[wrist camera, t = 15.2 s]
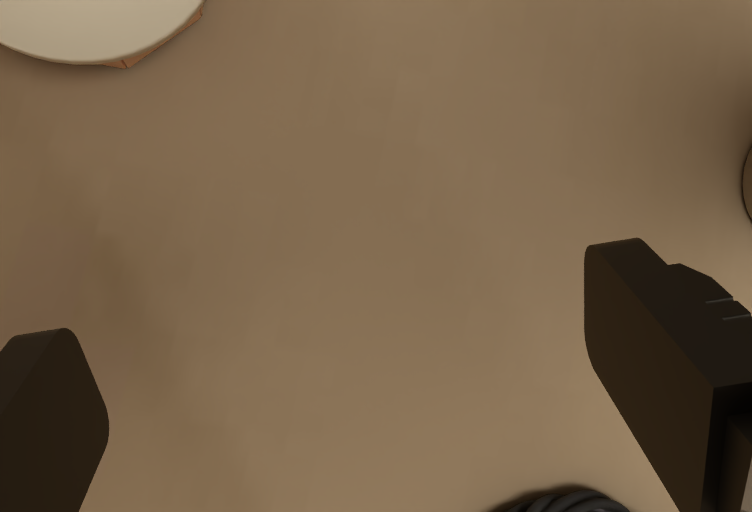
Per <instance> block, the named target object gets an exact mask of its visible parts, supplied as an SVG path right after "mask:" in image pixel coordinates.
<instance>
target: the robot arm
mask: <svg viewBox="0 0 752 512" xmlns="http://www.w3.org/2000/svg"><path fill="white" fill-rule="evenodd" d="M743 194H744V200H745V204H746V207H747V211H748V213H749V215H750V217H751V219H752V148H751V150H750V152H749V154H748V157H747V160H746V164H745V167H744V174H743ZM584 332H585V341H586V347H587V351H588V355H589V359H590V361H591V364H592V366H593V369H594V371H595V372H596V374H597V376H598V377H599V379H600V381H601V382H602V384H603V386H604V387H605V389H606V391H607V392H608V394H609V396H610V397H611V399H612V401H613V402H614V404H615V405H616V407H617V409H618V410H619V412H620V414H621V415H622V417H623V419H624V420H625V422H626V424H627V425H628V427H629V429H630V430H631V432H632V434H633V435H634V437H635V439H636V440H637V442H638V443H639V445H640V447H641V448H642V450H643V452H644V453H645V455H646V457H647V458H648V460H649V462H650V463H651V465H652V467H653V468H654V470H655V472H656V473H657V475H658V477H659V478H660V480H661V481H662V483H663V485H664V486H665V488H666V490H667V491H668V493H669V495H670V496H671V498H672V500H673V501H674V503H675V505H676V506H677V508H678V510H679V511H680V512H752V317H751V313H750V312H749V311H748V310H747V309H746V308H745V307H744V306H743V305H741V304H740V303H739V302H738V301H734V300H733V296H731V295H730V294H729V293H728V292H727V291H726V290H725V289H724V288H723V287H722V286H720V285H719V284H718V283H717V282H716V281H715V280H714V279H713V278H712V277H709V276H707V275H705V274H703V273H700V272H698V271H696V270H694V269H692V268H689V267H687V266H685V265H683V264H680V263H678V264H672V265H667V264H666V263H665V262H664V261H663V260H662V259H661V258H660V257H659V256H658V255H657V254H656V253H655V252H654V251H653V250H652V249H651V248H650V247H649V246H648V245H647V244H646V243H645V242H644V241H643V240H642V239H640V238H632V239H626V240H620V241H613V242H607V243H601V244H594V245H590V246H588V247H587V249H586V252H585V258H584ZM108 436H109V419H108V413H107V409H106V406H105V403H104V401H103V399H102V396H101V394H100V391H99V389H98V387H97V384H96V382H95V379H94V377H93V375H92V372H91V370H90V367H89V365H88V363H87V360H86V358H85V355H84V353H83V351H82V348H81V346H80V343H79V341H78V339H77V337H76V336H75V334H74V333H73V332H72V331H71V330H69V329H67V328H60V329H54V330H47V331H41V332H35V333H29V334H22V335H17V336H14V337H13V338H11V339H10V340H9V341H8V343H7V344H6V345H5V347H4V348H3V349H2V351H1V352H0V512H79V509H80V507H81V505H82V502H83V500H84V498H85V495H86V493H87V491H88V488H89V486H90V484H91V481H92V479H93V477H94V474H95V472H96V470H97V467H98V465H99V463H100V460H101V458H102V455H103V453H104V451H105V448H106V446H107V442H108Z"/></svg>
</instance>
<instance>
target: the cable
mask: <svg viewBox="0 0 752 512" xmlns="http://www.w3.org/2000/svg"><path fill="white" fill-rule="evenodd" d="M504 512H630V511H629V510H628V509H627V508H626V507H625V506H623V505H622V504H620V503H618V502H616V501H614V500H611V499H610V498H609V497H607V496H606V495H604V494H602V493H600V492H597V491H592V490H581V491H576V492H573V493H570V494H568V495H566V496H563V495H559V494H549V495H546V496H543V497H541V498H539V499H538V500H533V501H526V502H523V503H520V504H518V505H516V506H514V507H513V508H511V509H510V510H507V511H504Z"/></svg>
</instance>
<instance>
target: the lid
mask: <svg viewBox="0 0 752 512" xmlns="http://www.w3.org/2000/svg"><path fill="white" fill-rule="evenodd" d="M205 1H206V0H0V44H2V45H4V46H6V47H8V48H10V49H12V50H14V51H17V52H20V53H22V54H25V55H28V56H31V57H33V58H38V59H42V60H46V61H50V62H55V63H64V64H73V65H96V64H103V63H110V62H117V61H120V60H124V59H128V58H131V57H135V56H137V55H140V54H142V53H144V52H147V51H149V50H151V49H153V48H155V47H157V46H159V45H160V44H162V43H164V42H165V41H167V40H169V39H170V38H171V37H172V36H174V35H175V34H176V33H177V32H179V31H180V30H181V29H182V28H184V27H185V26H186V25H187V23H188V22H189V21H190V20H191V19H192V18H193V17H194V16H195V15H196V14H197V12H198V11H199V10H200V8H201V7H202V5H203V4H204V2H205Z"/></svg>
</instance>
